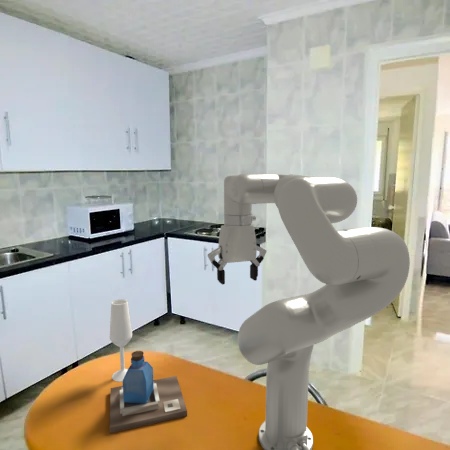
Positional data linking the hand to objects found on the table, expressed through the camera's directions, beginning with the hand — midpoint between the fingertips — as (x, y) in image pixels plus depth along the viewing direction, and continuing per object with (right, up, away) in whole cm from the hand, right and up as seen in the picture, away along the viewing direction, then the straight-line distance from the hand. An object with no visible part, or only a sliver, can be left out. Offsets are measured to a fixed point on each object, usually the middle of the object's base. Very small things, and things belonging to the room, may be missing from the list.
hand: (237, 281), depth 93 cm
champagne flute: (-36, -32, +11) cm, 49 cm away
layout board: (-25, -33, -2) cm, 42 cm away
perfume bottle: (-27, -31, -3) cm, 41 cm away
